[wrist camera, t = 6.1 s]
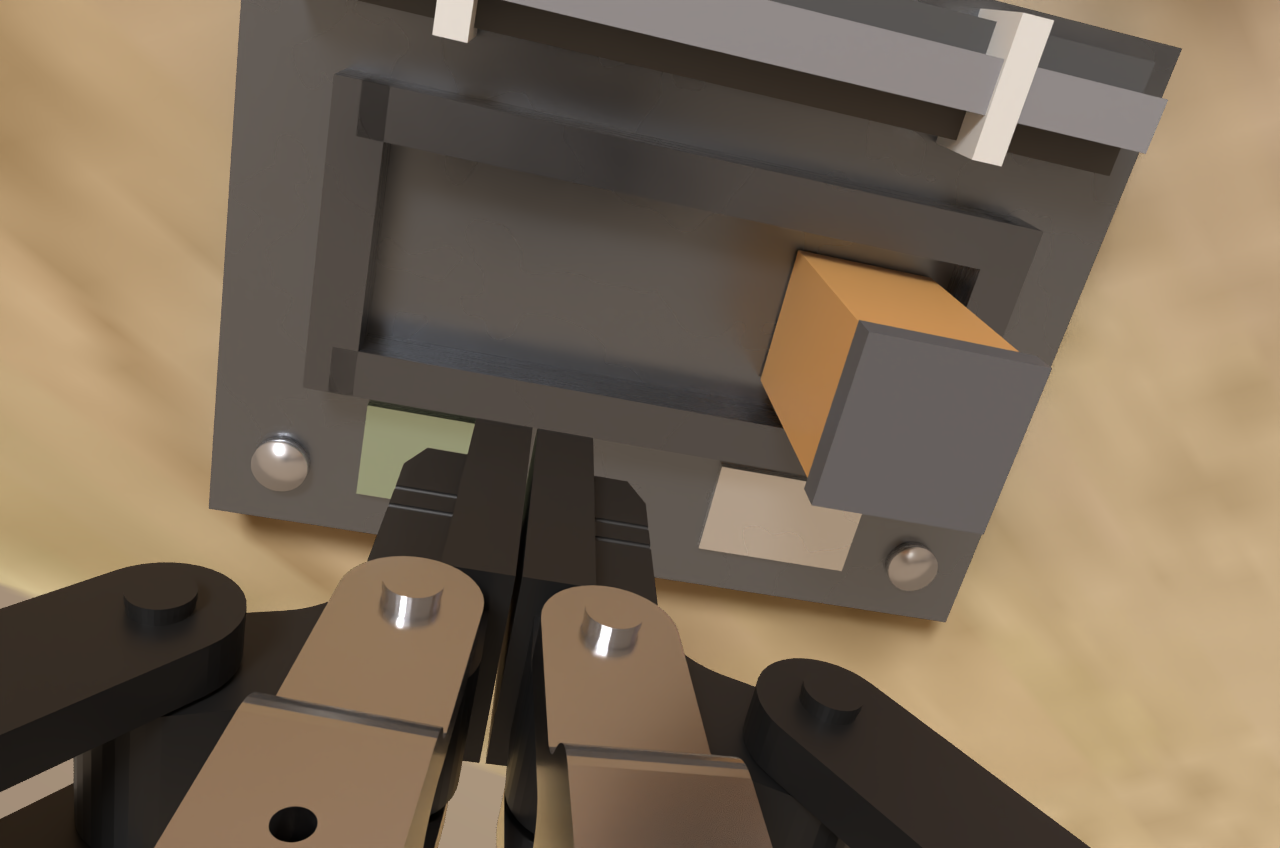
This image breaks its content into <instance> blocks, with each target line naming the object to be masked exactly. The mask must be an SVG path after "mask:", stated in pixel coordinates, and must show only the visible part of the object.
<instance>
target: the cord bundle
mask: <svg viewBox="0 0 1280 848" xmlns="http://www.w3.org/2000/svg"><path fill="white" fill-rule="evenodd" d="M358 1H362V2H366V3H370V4H375V5H379V6H383V7H387V8H392V9H396V10H400V11H405V12H409V13H413V14H417V15H422V16H426V17H430V18H434V26H433V33H432V35H435V36H439V37H444V38H448V39H452V40H457V41H461V42H465V43H468V42H469V41H470V40H472V39H473V38H474V37H476V35H477V29H482V30H486V31H490V32H494V33H499V34H503V35H507V36H511V37H516V38H520V39H524V40H529V41H533V42H537V43H541V44H546V45H550V46H554V47H559V48H563V49H567V50H571V51H576V52H580V53H584V54H588V55H593V56H597V57H601V58H606V59H610V60H614V61H618V62H623V63H627V64H631V65H636V66H640V67H644V68H648V69H653V70H657V71H661V72H665V73H670V74H674V75H678V76H683V77H687V78H691V79H695V80H700V81H704V82H708V83H713V84H717V85H721V86H725V87H730V88H734V89H738V90H742V91H747V92H751V93H755V94H760V95H764V96H768V97H772V98H777V99H781V100H785V101H790V102H794V103H798V104H802V105H807V106H811V107H815V108H819V109H824V110H828V111H832V112H837V113H841V114H845V115H849V116H854V117H858V118H862V119H867V120H871V121H875V122H879V123H884V124H888V125H892V126H896V127H901V128H905V129H909V130H914V131H918V132H922V133H926V134H931V135H935V136H938V137H937V140H936V143H937V144H939V145H942V146H944V147H946V148H948V149H950V150H952V151H954V152H957V153H959V154H961V155H963V156H965V157H967V158H969V159H972V160H976V161H980V162H984V163H989V164H993V165H997V166H1002V164H1003V161H1004V158H1005V155H1006V153H1007V152H1008V153H1012V154H1016V155H1021V156H1025V157H1029V158H1033V159H1038V160H1042V161H1046V162H1050V163H1055V164H1059V165H1063V166H1068V167H1072V168H1076V169H1080V170H1085V171H1089V172H1093V173H1098V174H1102V175H1106V176H1110V174H1111V171H1112V169H1113V166H1114V164H1115V161H1116V159H1117V157H1118V154H1119V152H1120V149H1121V148H1124V149H1128V150H1132V151H1136V152H1140V153H1145V154H1146V152H1147V149H1148V147H1149V145H1150V142H1151V140H1152V137H1153V135H1154V133H1155V130H1156V128H1157V125H1158V123H1159V121H1160V118H1161V116H1162V113H1163V111H1164V109H1165V106H1166V104H1167V101H1168V100H1167V99H1163V98H1159V97H1155V96H1151V95H1147V94H1143V92H1144V90H1145V87H1146V85H1147V82H1148V80H1149V77H1150V75H1151V72H1152V70H1153V68H1154V65H1155V63H1156V62H1153V61H1149V60H1145V59H1141V58H1137V57H1133V56H1129V55H1125V54H1122V53H1118V52H1114V51H1110V50H1106V49H1102V48H1098V47H1094V46H1090V45H1086V44H1082V43H1078V42H1074V41H1071V40H1067V39H1063V38H1059V37H1055V36H1051V35H1049V34H1050V31H1051V28H1052V25H1053V22H1054V20H1050V19H1046V18H1043V17H1039V16H1035V15H1031V14H1027V13H1023V12H1013V11H1002V10H991V9H981V8H980V11H979V14H978V17H976V16H973V15H969V14H965V13H961V12H957V11H953V10H949V9H945V8H941V7H937V6H933V5H929V4H925V3H922V2H918V1H914V0H358Z"/></svg>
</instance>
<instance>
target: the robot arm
mask: <svg viewBox="0 0 1280 848" xmlns="http://www.w3.org/2000/svg"><path fill="white" fill-rule="evenodd" d="M532 429H533V428H532V427H526V426H521V425H515V424H509V423H504V422H498V421H492V420H486V419H481V418H476V422H475V426H474V430H473V434H472V438H471V442H470V446H469V450H468V454H462V453H456V452H451V451H445V450H439V449H433V448H426V449H425V450H423V451H422V452H420V453H419V454H417V455H416V456H414V457H413V458H411V459H410V460H408V461H407V462H405V463H404V464H403V467H402V470H401V472H400V475H399V478H398V480H397V483H396V487H395V489H394V491H393V494H392V496H391V499H390V502H389V507H387V510H386V512H385V515H384V518H383V521H382V523H381V526H380V529H379V531H378V534H377V537H376V539H375V542H374V545H373V547H372V550H371V553H370V555H369V558H368V561H367V562H365V563H362V564H360V565H358V566H356V567H354V568H353V569H351V570H350V571H349V572H347V573H346V574H345V575H344V576H343V578H342V579H341V580H340V582H339V583H338V585H337V587H336V589H335V591H334V592H333V594H332V596H331V598H330V600H329V601H328V602H326V603H323V604H320V605H316V606H313V607H308V608H303V609H297V610H287V611H271V612H252V613H246V598H245V595H244V593H243V591H242V590H241V589H240V587H239V586H238V585H237V584H236V583H235V582H234V581H233V580H231V579H230V578H228V577H226V576H225V575H223V574H221V573H219V572H216V571H214V570H212V569H208V568H205V567H201V566H197V565H191V564H184V563H149V564H141V565H135V566H130V567H126V568H122V569H119V570H115V571H112V572H109V573H106V574H103V575H100V576H97V577H94V578H92V579H89V580H86V581H83V582H80V583H77V584H74V585H71V586H68V587H65V588H62V589H59V590H56V591H53V592H50V593H47V594H44V595H41V596H38V597H35V598H32V599H29V600H26V601H23V602H20V603H17V604H14V605H11V606H8V607H5V608H2V609H0V792H1V791H3V790H6V789H8V788H10V787H12V786H14V785H16V784H18V783H20V782H23V781H25V780H27V779H29V778H31V777H33V776H35V775H38V774H40V773H42V772H44V771H46V770H48V769H50V768H53V767H54V766H57V765H59V764H61V763H63V762H65V761H67V760H70V759H71V758H74V783H73V784H71V785H69V786H67V787H65V788H63V789H61V790H59V791H57V792H55V793H52V794H50V795H48V796H47V797H44V798H42V799H40V800H38V801H36V802H34V803H32V804H30V805H28V806H26V807H24V808H22V809H20V810H18V811H16V812H14V813H12V814H10V815H8V816H5V817H3V818H1V819H0V848H438V845H439V841H440V837H441V834H442V829H443V826H444V821H445V816H446V811H447V805H448V801H449V800H450V799H451V798H452V796H453V795H454V793H455V791H456V789H457V786H458V782H459V777H460V771H461V766H462V761H469V762H477V763H479V762H480V756H481V751H482V746H483V741H484V736H485V731H486V726H487V720H488V715H489V710H490V705H491V700H492V695H493V690H494V684H495V679H496V685H495V693H494V701H493V709H492V717H491V725H490V733H489V741H488V749H487V757H486V763H487V764H495V765H503V766H507V772H506V783H505V789H504V793H503V798H502V803H501V808H500V812H499V817H498V822H497V830H496V848H1090V847H1089V846H1088V845H1086V844H1085V843H1084V842H1082V841H1081V840H1080V839H1078V838H1077V837H1076V836H1074V835H1073V834H1072V833H1070V832H1069V831H1067V830H1066V829H1065V828H1063V827H1062V826H1061V825H1059V824H1058V823H1057V822H1055V821H1054V820H1053V819H1051V818H1050V817H1049V816H1047V815H1046V814H1045V813H1043V812H1042V811H1041V810H1039V809H1038V808H1037V807H1035V806H1034V805H1033V804H1031V803H1030V802H1029V801H1027V800H1026V799H1025V798H1023V797H1022V796H1021V795H1019V794H1018V793H1017V792H1015V791H1014V790H1013V789H1011V788H1010V787H1009V786H1007V785H1006V784H1005V783H1003V782H1002V781H1001V780H999V779H998V778H997V777H995V776H994V775H993V774H991V773H990V772H989V771H987V770H986V769H985V768H983V767H982V766H981V765H979V764H978V763H977V762H975V761H974V760H973V759H971V758H970V757H969V756H967V755H966V754H965V753H963V752H962V751H961V750H959V749H958V748H956V747H955V746H954V745H952V744H951V743H950V742H948V741H947V740H946V739H944V738H943V737H942V736H940V735H939V734H938V733H936V732H935V731H934V730H932V729H931V728H930V727H928V726H927V725H926V724H924V723H923V722H922V721H920V720H919V719H918V718H916V717H915V716H914V715H912V714H911V713H910V712H908V711H907V710H906V709H904V708H903V707H902V706H900V705H899V704H898V703H896V702H895V701H894V700H892V699H891V698H890V697H888V696H887V695H886V694H884V693H883V692H882V691H880V690H879V689H878V688H876V687H875V686H874V685H872V684H871V683H869V682H868V681H866V680H865V679H863V678H862V677H860V676H858V675H857V674H855V673H853V672H851V671H849V670H846V669H844V668H842V667H840V666H837V665H834V664H830V663H827V662H823V661H819V660H813V659H804V658H793V659H786V660H781V661H778V662H775V663H773V664H771V665H769V666H768V667H766V668H765V669H764V670H763V671H762V673H761V674H760V676H759V678H758V681H757V684H756V687H754V686H751V685H749V684H746V683H743V682H740V681H738V680H735V679H732V678H729V677H727V676H724V675H721V674H719V673H716V672H714V671H712V670H709V669H707V668H705V667H703V666H702V665H700V664H698V663H696V662H695V661H693V660H692V659H690V658H689V657H687V656H686V655H685V654H684V650H683V647H682V643H681V639H680V635H679V632H678V629H677V627H676V625H675V623H674V622H673V620H672V619H671V618H670V616H669V615H668V614H667V613H666V612H665V611H664V610H662V609H661V608H660V607H659V606H658V604H657V596H656V587H655V579H654V570H653V562H652V553H651V549H650V536H649V530H648V519H647V510H646V503H645V502H644V501H643V500H642V498H641V497H640V496H639V495H638V494H637V492H636V491H635V490H634V489H633V487H632V486H631V485H630V484H629V483H628V481H623V480H617V479H611V478H605V477H599V476H594V448H593V438H590V437H585V436H579V435H573V434H567V433H562V432H556V431H550V430H545V429H539V428H537V432H536V436H535V441H534V446H533V451H532V456H531V461H530V466H529V472H528V464H529V455H530V447H531V438H532ZM527 473H528V477H527ZM526 481H527V482H526ZM496 674H497V677H496Z"/></svg>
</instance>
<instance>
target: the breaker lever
mask: <svg viewBox="0 0 1280 848" xmlns="http://www.w3.org/2000/svg"><path fill="white" fill-rule="evenodd" d="M1051 369H1052V368H1051V367H1050V366H1049V365H1047V364H1046V363H1045V362H1044V361H1042V360H1041V359H1040V358H1039V357H1038V356H1036V355H1031V354H1026V353H1021V352H1019V351H1018V350H1016V349H1015V348H1014V347H1013V346H1012V345H1010V344H1009V343H1008V342H1007V341H1006V340H1004V339H1003V338H1002V337H1001V336H1000V335H998V334H997V333H996V332H995V331H994V330H993V329H991V328H990V327H989V326H988V325H987V324H985V323H984V322H983V321H982V320H981V319H979V318H978V317H977V316H976V315H975V314H973V313H972V312H971V311H970V310H969V309H967V308H966V307H965V306H964V305H963V304H961V303H960V302H959V301H958V300H957V299H956V298H954V297H953V296H952V295H951V294H950V293H948V292H947V291H946V290H945V289H944V288H942V287H941V286H940V285H939V284H938V283H936V282H935V281H934V280H933V279H932V278H929V277H925V276H920V275H915V274H910V273H906V272H901V271H896V270H891V269H886V268H882V267H877V266H872V265H867V264H863V263H858V262H853V261H848V260H844V259H839V258H834V257H829V256H825V255H820V254H815V253H810V252H806V251H801V250H798V253H797V256H796V260H795V263H794V267H793V270H792V274H791V277H790V280H789V284H788V287H787V291H786V294H785V298H784V301H783V304H782V308H781V311H780V315H779V318H778V321H777V325H776V328H775V332H774V335H773V339H772V342H771V345H770V349H769V352H768V356H767V359H766V363H765V366H764V369H763V373H762V376H761V382H762V384H763V387H764V389H765V391H766V393H767V395H768V397H769V399H770V401H771V403H772V405H773V407H774V409H775V411H776V414H777V416H778V418H779V420H780V422H781V424H782V426H783V428H784V430H785V432H786V434H787V436H788V438H789V440H790V443H791V445H792V447H793V449H794V451H795V453H796V455H797V457H798V459H799V461H800V463H801V465H802V467H803V469H804V472H805V474H806V476H807V481H806V484H805V487H804V490H805V492H806V494H807V496H808V499H809V501H810V503H811V505H812V506H818V507H824V508H830V509H836V510H842V511H848V512H854V513H859V514H865V515H871V516H877V517H883V518H889V519H895V520H901V521H907V522H912V523H918V524H924V525H930V526H936V527H942V528H948V529H954V530H960V531H966V532H971V533H977V534H984V532H985V529H986V527H987V524H988V522H989V520H990V517H991V515H992V512H993V510H994V507H995V505H996V503H997V500H998V498H999V495H1000V493H1001V491H1002V488H1003V486H1004V483H1005V481H1006V478H1007V476H1008V474H1009V471H1010V469H1011V466H1012V464H1013V461H1014V459H1015V457H1016V454H1017V452H1018V449H1019V447H1020V444H1021V442H1022V440H1023V437H1024V435H1025V432H1026V430H1027V428H1028V425H1029V423H1030V420H1031V418H1032V415H1033V413H1034V411H1035V408H1036V406H1037V403H1038V401H1039V398H1040V396H1041V394H1042V391H1043V389H1044V386H1045V384H1046V382H1047V379H1048V377H1049V374H1050V372H1051Z"/></svg>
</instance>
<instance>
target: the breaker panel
mask: <svg viewBox="0 0 1280 848" xmlns="http://www.w3.org/2000/svg"><path fill="white" fill-rule="evenodd" d="M914 1H918V2H922V3H925V4H929V5H933V6H937V7H941V8H945V9H949V10H953V11H957V12H961V13H965V14H969V15H973V16H976V17H978V14H979V11H980V8H981V9H991V10H1002V11H1013V12H1023V13H1027V14H1031V15H1035V16H1039V17H1043V18H1046V19H1050V20H1054V22H1053V25H1052V28H1051V31H1050V34H1049V35H1051V36H1055V37H1059V38H1063V39H1067V40H1071V41H1074V42H1078V43H1082V44H1086V45H1090V46H1094V47H1098V48H1102V49H1106V50H1110V51H1114V52H1118V53H1122V54H1125V55H1129V56H1133V57H1137V58H1141V59H1145V60H1149V61H1153V62H1156V63H1155V65H1154V68H1153V70H1152V72H1151V75H1150V77H1149V80H1148V82H1147V85H1146V87H1145V90H1144V92H1143V94H1147V95H1151V96H1155V97H1159V98H1162V96H1163V94H1164V91H1165V89H1166V86H1167V84H1168V81H1169V79H1170V77H1171V74H1172V72H1173V69H1174V67H1175V64H1176V62H1177V60H1178V57H1179V55H1180V52H1181V50H1182V49H1181V48H1177V47H1173V46H1170V45H1166V44H1162V43H1158V42H1154V41H1150V40H1146V39H1142V38H1139V37H1135V36H1131V35H1127V34H1123V33H1119V32H1115V31H1112V30H1108V29H1104V28H1100V27H1096V26H1092V25H1088V24H1084V23H1081V22H1077V21H1073V20H1069V19H1065V18H1061V17H1057V16H1054V15H1050V14H1046V13H1042V12H1038V11H1034V10H1030V9H1026V8H1023V7H1019V6H1015V5H1011V4H1007V3H1003V2H999V1H995V0H914ZM433 26H434V18H430V17H426V16H422V15H417V14H413V13H409V12H405V11H400V10H396V9H392V8H387V7H383V6H379V5H375V4H370V3H366V2H362V1H358V0H241V10H240V26H239V41H238V57H237V73H236V89H235V104H234V120H233V136H232V152H231V167H230V183H229V199H228V214H227V230H226V246H225V262H224V277H223V293H222V309H221V325H220V340H219V356H218V372H217V388H216V403H215V419H214V435H213V451H212V466H211V482H210V498H209V509H215V510H221V511H228V512H234V513H241V514H247V515H254V516H260V517H267V518H273V519H280V520H286V521H293V522H299V523H305V524H312V525H318V526H325V527H331V528H338V529H344V530H351V531H357V532H364V533H370V534H378V531H379V529H380V526H381V523H382V521H383V518H384V515H385V512H386V510H387V507H389V502H390V499H391V496H392V494H393V491H394V489H395V487H396V483H397V480H398V478H399V475H400V472H401V470H402V467H403V464H404V463H405V462H407V461H408V460H410V459H411V458H413V457H414V456H416V455H417V454H419V453H420V452H422V451H423V450H425V449H426V448H433V449H439V450H445V451H451V452H456V453H462V454H468V450H469V446H470V442H471V438H472V434H473V430H474V426H475V422H476V418H481V419H486V420H492V421H498V422H504V423H509V424H515V425H521V426H526V427H532V428H533V429H532V438H531V447H530V455H529V464H528V472H529V466H530V461H531V456H532V451H533V446H534V441H535V436H536V432H537V428H539V429H545V430H550V431H556V432H562V433H567V434H573V435H579V436H585V437H590V438H593V448H594V476H599V477H605V478H611V479H617V480H623V481H628V483H629V484H630V485H631V486H632V487H633V489H634V490H635V491H636V492H637V494H638V495H639V496H640V497H641V498H642V500H643V501H644V502H645V503H646V510H647V519H648V530H649V536H650V549H651V553H652V562H653V570H654V577H655V578H662V579H668V580H675V581H681V582H688V583H694V584H701V585H707V586H714V587H720V588H727V589H733V590H740V591H746V592H753V593H759V594H766V595H772V596H779V597H785V598H792V599H798V600H805V601H811V602H818V603H824V604H831V605H837V606H843V607H850V608H856V609H863V610H869V611H876V612H882V613H889V614H895V615H902V616H908V617H915V618H921V619H928V620H934V621H941V622H946V620H947V618H948V615H949V613H950V610H951V608H952V606H953V603H954V601H955V598H956V596H957V593H958V591H959V589H960V586H961V584H962V581H963V579H964V576H965V574H966V572H967V569H968V567H969V564H970V562H971V559H972V557H973V555H974V552H975V550H976V547H977V545H978V542H979V540H980V538H981V535H982V534H977V533H971V532H966V531H960V530H954V529H948V528H942V527H936V526H930V525H924V524H918V523H912V522H907V521H901V520H895V519H889V518H883V517H877V516H871V515H865V514H859V513H854V512H848V511H842V510H836V509H830V508H824V507H818V506H812V505H811V503H810V501H809V499H808V496H807V494H806V492H805V490H804V487H805V484H806V481H807V476H806V474H805V472H804V469H803V467H802V465H801V463H800V461H799V459H798V457H797V455H796V453H795V451H794V449H793V447H792V445H791V443H790V440H789V438H788V436H787V434H786V432H785V430H784V428H783V426H782V424H781V422H780V420H779V418H778V416H777V414H776V411H775V409H774V407H773V405H772V403H771V401H770V399H769V397H768V395H767V393H766V391H765V389H764V387H763V384H762V382H761V376H762V373H763V369H764V366H765V363H766V359H767V356H768V352H769V349H770V345H771V342H772V339H773V335H774V332H775V328H776V325H777V321H778V318H779V315H780V311H781V308H782V304H783V301H784V298H785V294H786V291H787V287H788V284H789V280H790V277H791V274H792V270H793V267H794V263H795V260H796V256H797V253H798V250H801V251H806V252H810V253H815V254H820V255H825V256H829V257H834V258H839V259H844V260H848V261H853V262H858V263H863V264H867V265H872V266H877V267H882V268H886V269H891V270H896V271H901V272H906V273H910V274H915V275H920V276H925V277H929V278H932V279H933V280H934V281H935V282H936V283H938V284H939V285H940V286H941V287H942V288H944V289H945V290H946V291H947V292H948V293H950V294H951V295H952V296H953V297H954V298H956V299H957V300H958V301H959V302H960V303H961V304H963V305H964V306H965V307H966V308H967V309H969V310H970V311H971V312H972V313H973V314H975V315H976V316H977V317H978V318H979V319H981V320H982V321H983V322H984V323H985V324H987V325H988V326H989V327H990V328H991V329H993V330H994V331H995V332H996V333H997V334H998V335H1000V336H1001V337H1002V338H1003V339H1004V340H1006V341H1007V342H1008V343H1009V344H1010V345H1012V346H1013V347H1014V348H1015V349H1016V350H1018V351H1019V352H1021V353H1026V354H1031V355H1036V356H1038V357H1039V358H1040V359H1041V360H1042V361H1044V362H1045V363H1046V364H1047V365H1049V366H1050V367H1051V365H1052V363H1053V360H1054V358H1055V356H1056V353H1057V351H1058V348H1059V346H1060V343H1061V341H1062V339H1063V336H1064V334H1065V331H1066V329H1067V326H1068V324H1069V322H1070V319H1071V317H1072V314H1073V312H1074V309H1075V307H1076V305H1077V302H1078V300H1079V297H1080V295H1081V293H1082V290H1083V288H1084V285H1085V283H1086V280H1087V278H1088V276H1089V273H1090V271H1091V268H1092V266H1093V263H1094V261H1095V259H1096V256H1097V254H1098V251H1099V249H1100V246H1101V244H1102V242H1103V239H1104V237H1105V234H1106V232H1107V229H1108V227H1109V225H1110V222H1111V220H1112V217H1113V215H1114V212H1115V210H1116V208H1117V205H1118V203H1119V200H1120V198H1121V195H1122V193H1123V191H1124V188H1125V186H1126V183H1127V181H1128V178H1129V176H1130V174H1131V171H1132V169H1133V166H1134V164H1135V161H1136V159H1137V157H1138V154H1139V152H1136V151H1132V150H1128V149H1124V148H1121V149H1120V152H1119V154H1118V157H1117V159H1116V161H1115V164H1114V166H1113V169H1112V171H1111V174H1110V176H1106V175H1102V174H1098V173H1093V172H1089V171H1085V170H1080V169H1076V168H1072V167H1068V166H1063V165H1059V164H1055V163H1050V162H1046V161H1042V160H1038V159H1033V158H1029V157H1025V156H1021V155H1016V154H1012V153H1008V152H1007V153H1006V155H1005V158H1004V161H1003V164H1002V166H997V165H993V164H989V163H984V162H980V161H976V160H972V159H969V158H967V157H965V156H963V155H961V154H959V153H957V152H954V151H952V150H950V149H948V148H946V147H944V146H942V145H939V144H937V143H936V140H937V137H938V136H935V135H931V134H926V133H922V132H918V131H914V130H909V129H905V128H901V127H896V126H892V125H888V124H884V123H879V122H875V121H871V120H867V119H862V118H858V117H854V116H849V115H845V114H841V113H837V112H832V111H828V110H824V109H819V108H815V107H811V106H807V105H802V104H798V103H794V102H790V101H785V100H781V99H777V98H772V97H768V96H764V95H760V94H755V93H751V92H747V91H742V90H738V89H734V88H730V87H725V86H721V85H717V84H713V83H708V82H704V81H700V80H695V79H691V78H687V77H683V76H678V75H674V74H670V73H665V72H661V71H657V70H653V69H648V68H644V67H640V66H636V65H631V64H627V63H623V62H618V61H614V60H610V59H606V58H601V57H597V56H593V55H588V54H584V53H580V52H576V51H571V50H567V49H563V48H559V47H554V46H550V45H546V44H541V43H537V42H533V41H529V40H524V39H520V38H516V37H511V36H507V35H503V34H499V33H494V32H490V31H486V30H482V29H477V35H476V37H474V38H473V39H472V40H470V41H469V42H468V43H465V42H461V41H457V40H452V39H448V38H444V37H439V36H435V35H432V33H433ZM527 477H528V473H527ZM526 482H527V481H526Z"/></svg>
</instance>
